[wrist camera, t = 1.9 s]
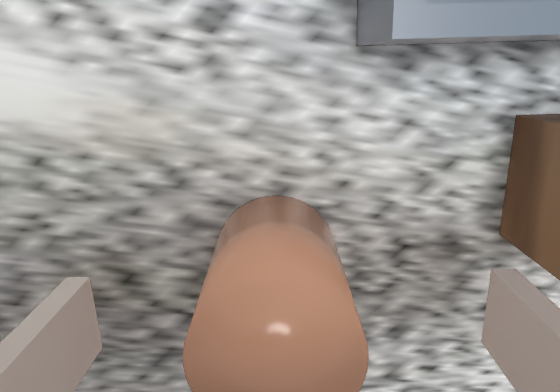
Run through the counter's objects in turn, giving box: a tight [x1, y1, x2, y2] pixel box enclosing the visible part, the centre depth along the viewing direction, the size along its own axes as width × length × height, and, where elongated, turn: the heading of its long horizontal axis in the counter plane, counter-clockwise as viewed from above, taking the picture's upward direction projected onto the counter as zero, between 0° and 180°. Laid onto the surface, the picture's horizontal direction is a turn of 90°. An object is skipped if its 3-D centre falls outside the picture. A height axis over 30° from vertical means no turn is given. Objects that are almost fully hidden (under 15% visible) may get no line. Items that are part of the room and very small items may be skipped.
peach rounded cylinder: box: [183, 196, 369, 392], centre depth 15 cm, size 5×5×7 cm
